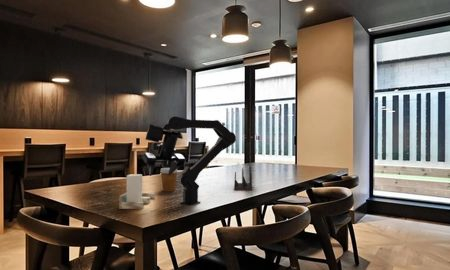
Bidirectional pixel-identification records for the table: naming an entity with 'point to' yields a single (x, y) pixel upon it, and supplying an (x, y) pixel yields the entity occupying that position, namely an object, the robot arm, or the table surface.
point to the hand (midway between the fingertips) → (159, 175)
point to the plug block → (134, 188)
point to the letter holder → (244, 185)
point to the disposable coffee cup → (168, 179)
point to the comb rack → (135, 205)
